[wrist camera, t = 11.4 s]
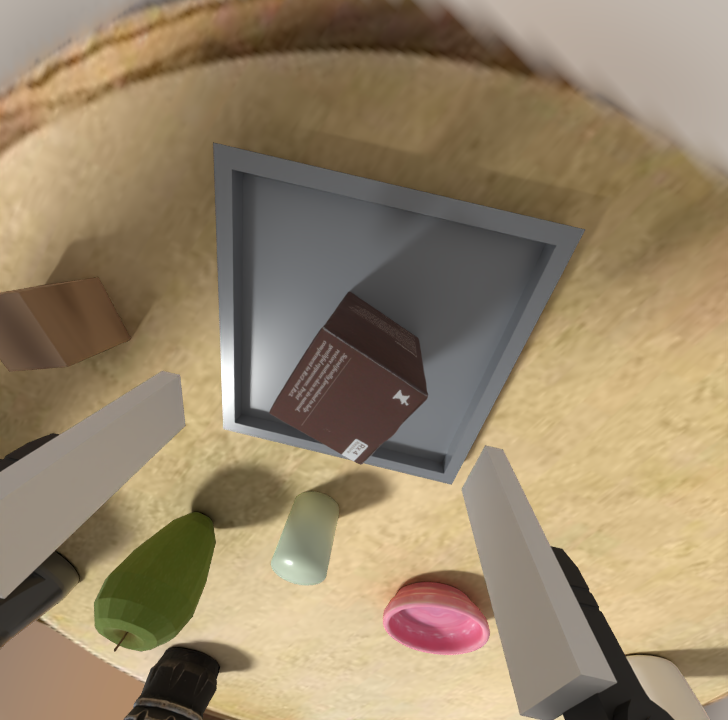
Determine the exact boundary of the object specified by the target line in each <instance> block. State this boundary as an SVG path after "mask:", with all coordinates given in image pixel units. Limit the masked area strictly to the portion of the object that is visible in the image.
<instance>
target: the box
mask: <svg viewBox="0 0 728 720" xmlns="http://www.w3.org/2000/svg"><path fill="white" fill-rule="evenodd" d="M427 398H428V392H427V385H426V379H425V374H424V367H423V360H422V354H421V348H420V342H419V338H418V337H416V336H415V335H413V334H412V333H410V332H409V331H407V330H406V329H405V328H403V327H401V326H400V325H399V324H397V323H395V322H394V321H393V320H391V319H390V318H388V317H387V316H385V315H384V314H382V313H381V312H380V311H378V310H376V309H375V308H374V307H372V306H371V305H369V304H368V303H366V302H365V301H363V300H362V299H360V298H359V297H357V296H356V295H354V294H353V293H352V292H348V293H347V294H346V295H345V297H344V298H343V300H342V301H341V302H340V304H339V305H338V307H337V308H336V309H335V311H334V312H333V314H332V315H331V316H330V318H329V319H328V321H327V322H326V324H325V325H324V326H323V327H322V328H321V329H320V330H319V332H318V333H317V335H316V336H315V338H314V339H313V341H312V343H311V344H310V346H309V347H308V349H307V350H306V352H305V353H304V355H303V356H302V358H301V359H300V361H299V363H298V364H297V366H296V368H295V369H294V371H293V372H292V374H291V376H290V377H289V379H288V380H287V382H286V384H285V385H284V387H283V389H282V390H281V392H280V393H279V395H278V396H277V398H276V400H275V402H274V404H273V405H272V407H271V409H270V412H269V413H270V414H271V415H273V416H275V417H276V418H278V419H280V420H282V421H283V422H285V423H287V424H289V425H291V426H292V427H294V428H296V429H297V430H299V431H301V432H303V433H305V434H306V435H308V436H310V437H312V438H314V439H315V440H317V441H319V442H321V443H322V444H324V445H326V446H327V447H329V448H331V449H333V450H334V451H336V452H338V453H340V454H341V455H343V456H345V457H346V458H348V459H350V460H352V461H354V462H356V463H358V464H363V463H364V462H365V461H366V460H367V459H368V458H369V457H370V456H371V455H372V454H373V453H374V452H375V451H376V450H377V449H378V448H379V447H380V446H381V445H382V444H383V443H384V442H385V441H387V440H388V439H390V438H391V437H392V436H393V435H394V434H395V433H396V432H397V430H398V429H399V427H400V426H401V425H402V424H403V423H404V422H405V421H406V420H407V419H408V418H409V417H410V416H411V415H412V414H413V413H414V412H415V411H416V410H417V409H418V408H419V407H420V406H421V405H422V404H423V403H424V402H425V401H426V400H427Z"/></svg>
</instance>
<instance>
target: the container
mask: <svg viewBox="0 0 728 720" xmlns="http://www.w3.org/2000/svg"><path fill="white" fill-rule="evenodd" d="M219 669H220V667H219V666H218V664H217V661H216V660H215V659H213V658H211V657H209V656H207V655H206V654H204V653H201V652H197V651H194V650H188V649H183V648H170V649H168V650H166V651H165V653H164V655H163V656H162V657H161V659H160V660H159V661H158V663H157V664H156V665H155V666H154V667H152V668H151V670H150V673H149V675H148V677H147V680H146V683H145V685H144V688H143V691H142V693H141V695H140V697H139V698H138V699H137V700H136V702H135V703H134V708H133V710H132V711H131V712H130V713H129V714H128V715H127V716H126V717H125V718H124V720H202V719H203V713H204V711H205V709H206V707H207V706H208V704H209V702H210V700H211V698H212V697H213V695H214V693H215V691H216V689H217V688H216V685H217V680H216V679H217V676H218V673H219Z"/></svg>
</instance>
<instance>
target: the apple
mask: <svg viewBox="0 0 728 720" xmlns="http://www.w3.org/2000/svg"><path fill="white" fill-rule="evenodd" d="M215 544H216V540H215V534H214V527H213V522H212V520H211V519H210V518H209V517H207V516H205V515H203V514H201V513H198V512H192V513H190V514H187V515H185V516H182V517H180V518H177V519H175V520H173V521H172V522H170V523H169V524H168V525H167V526H165V527H164V528H163V529H161V530H160V531H159V532H157V533H156V534H155V535H153V536H152V537H151V538H150V539H148V540H147V541H146V542H144V543H143V544H142V545H140V546H139V547H138V548H136V549H135V550H134V551H133V552H132V553H131V554H130V555H129V556H128V557H127V558H126V559H125V560H124V561H123V562H122V563H121V564H120V565H119V566H118V567H117V568H116V569H115V570H114V571H113V572H112V573H111V574H110V575H109V576H108V577H107V578H106V579H105V582H104V584H103V586H102V588H101V590H100V592H99V594H98V596H97V598H96V600H95V602H94V617H95V628H96V629H97V631H98V633H99V634H101V635H102V636H104V637H106V638H107V639H109V640H110V641H112V642H114V643H115V644H117V646H116V648H115V649H114V651H116V650H117V648H118V647H119V646H122V647H124V648H127V649H132V650H136V651H146V650H151V649H153V648H155V647H157V646H160V645H162V644H164V643H166V642H168V641H170V640H171V639H173V638H174V637H176V635H177V634H178V633H179V632H180V631H181V630H182V628H183V627H184V626H185V625H186V624H187V623H188V621H189V620H190V619H191V618H192V617H193V614H194V612H195V609H196V607H197V604H198V602H199V599H200V597H201V594H202V592H203V589H204V587H205V584H206V581H207V576H208V572H209V568H210V564H211V560H212V556H213V552H214V548H215Z"/></svg>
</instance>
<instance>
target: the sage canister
mask: <svg viewBox="0 0 728 720" xmlns="http://www.w3.org/2000/svg"><path fill="white" fill-rule="evenodd" d="M338 516H339V506H338V504H337V503H336V501H335V500H334V499H332V498H331V497H330V496H328V495H326V494H323V493H320V492H314V491H309V492H304V493H301V494H299V495H298V496H297V497H296V498H295V500H294V503H293V505H292V508H291V511H290V513H289V516H288V519H287V521H286V524H285V526H284V529H283V532H282V534H281V537H280V540H279V542H278V545H277V548H276V550H275V553H274V555H273V558H272V561H271V567H272V569H273V571H274V572H275V573H276V574H277V575H278V576H280V577H281V578H283V579H284V580H286V581H289V582H291V583H295V584H299V585H315V584H319V583H321V582H322V581H323V580H324V579H325V578H326V574H327V569H328V565H329V560H330V555H331V550H332V545H333V540H334V536H335V531H336V526H337V521H338Z"/></svg>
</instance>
